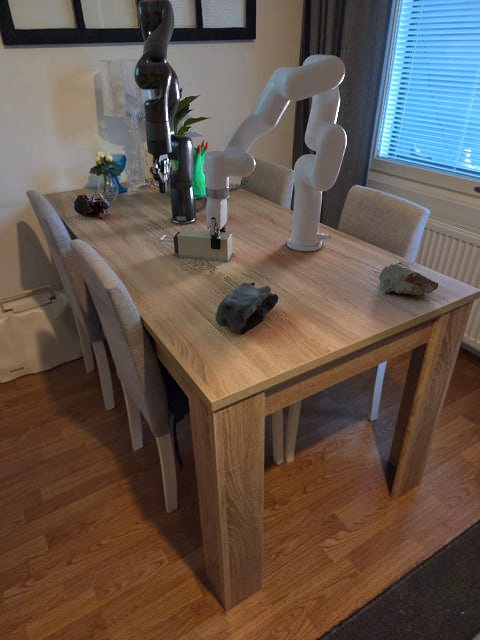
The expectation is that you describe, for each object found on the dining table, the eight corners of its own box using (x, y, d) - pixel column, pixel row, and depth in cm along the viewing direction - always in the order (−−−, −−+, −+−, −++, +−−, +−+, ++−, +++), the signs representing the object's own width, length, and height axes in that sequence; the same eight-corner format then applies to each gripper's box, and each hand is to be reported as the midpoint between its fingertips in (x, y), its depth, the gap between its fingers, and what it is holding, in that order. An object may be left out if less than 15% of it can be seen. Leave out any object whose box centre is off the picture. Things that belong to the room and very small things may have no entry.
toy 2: (167, 190, 223) (163, 137, 210) (207, 188, 227) (205, 135, 214) (172, 202, 206) (167, 145, 193) (214, 199, 210) (213, 143, 197)
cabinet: (178, 256, 154) (177, 235, 150) (184, 249, 159) (183, 228, 155) (227, 261, 150) (227, 239, 146) (232, 254, 156) (231, 233, 152)
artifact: (399, 307, 125) (440, 299, 130) (406, 284, 121) (449, 278, 126) (362, 275, 139) (401, 270, 144) (368, 254, 135) (408, 249, 140)
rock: (249, 344, 108) (249, 316, 104) (210, 332, 113) (209, 305, 109) (280, 311, 122) (281, 285, 118) (243, 301, 127) (244, 276, 123)
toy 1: (101, 187, 180) (72, 186, 186) (93, 207, 178) (64, 205, 183) (117, 205, 191) (89, 203, 196) (109, 223, 188) (82, 221, 194)
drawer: (158, 251, 155) (157, 235, 152) (164, 246, 159) (162, 230, 156) (219, 257, 151) (219, 241, 148) (223, 251, 155) (223, 235, 152)
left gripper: (155, 132, 143) (160, 186, 152) (138, 140, 132) (144, 197, 141) (177, 133, 142) (180, 188, 151) (162, 141, 131) (167, 199, 140)
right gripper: (213, 184, 150) (214, 235, 159) (197, 199, 136) (200, 253, 145) (234, 186, 149) (235, 236, 158) (221, 201, 134) (222, 255, 144)
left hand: (163, 192), depth 146 cm, fingers closed
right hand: (218, 244), depth 151 cm, fingers closed on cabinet, 6 cm apart
